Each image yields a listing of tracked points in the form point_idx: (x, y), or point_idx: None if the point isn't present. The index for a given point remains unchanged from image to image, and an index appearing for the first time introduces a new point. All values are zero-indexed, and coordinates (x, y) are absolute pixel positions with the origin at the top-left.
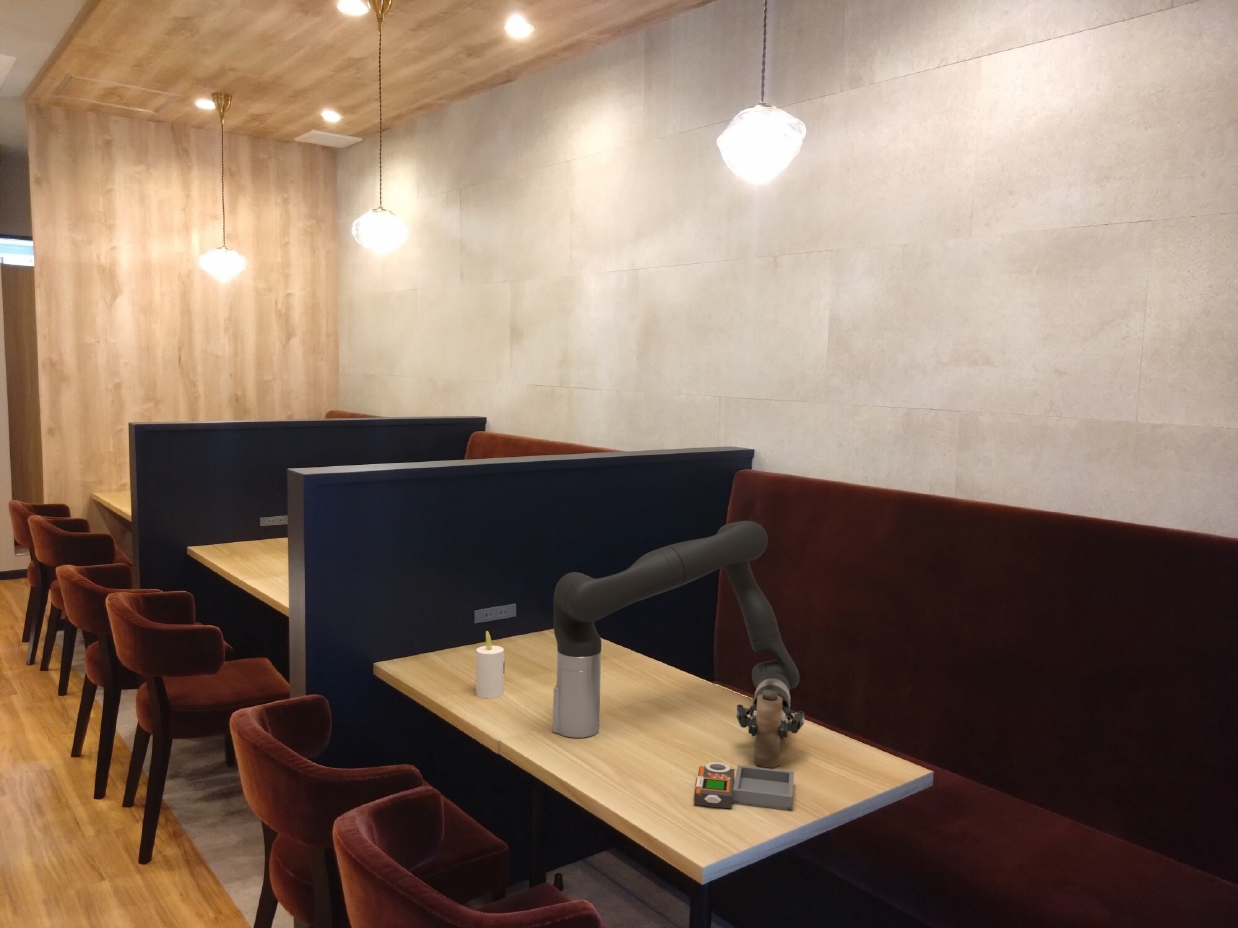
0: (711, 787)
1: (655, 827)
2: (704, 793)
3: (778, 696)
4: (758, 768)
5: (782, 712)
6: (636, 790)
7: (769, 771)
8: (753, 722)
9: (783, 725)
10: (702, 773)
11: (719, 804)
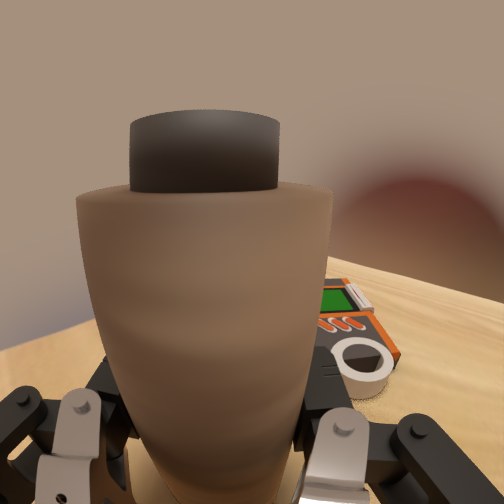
0: (332, 292)
1: (359, 268)
2: (333, 279)
3: (89, 199)
4: None
5: (51, 489)
6: (433, 307)
7: None
8: (313, 361)
9: None
10: (375, 326)
11: None
